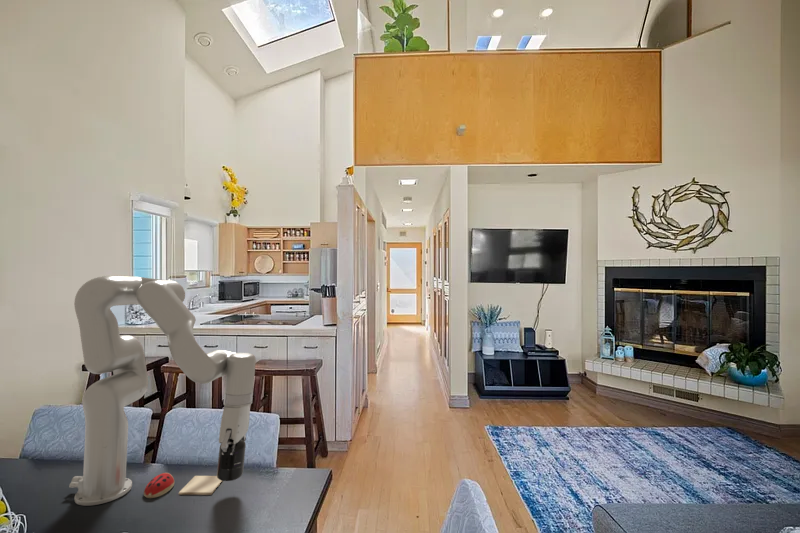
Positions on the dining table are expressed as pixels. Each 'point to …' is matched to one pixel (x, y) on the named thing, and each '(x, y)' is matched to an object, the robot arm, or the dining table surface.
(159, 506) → the dining table surface
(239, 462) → the supplement bottle
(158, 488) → the ladybug figurine
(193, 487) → the cork coaster
